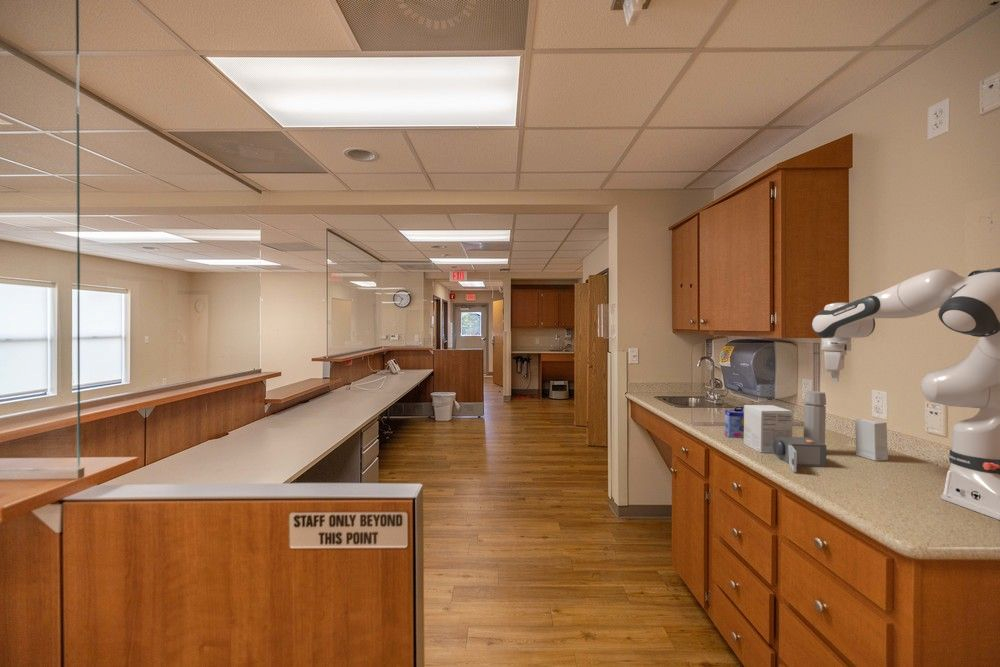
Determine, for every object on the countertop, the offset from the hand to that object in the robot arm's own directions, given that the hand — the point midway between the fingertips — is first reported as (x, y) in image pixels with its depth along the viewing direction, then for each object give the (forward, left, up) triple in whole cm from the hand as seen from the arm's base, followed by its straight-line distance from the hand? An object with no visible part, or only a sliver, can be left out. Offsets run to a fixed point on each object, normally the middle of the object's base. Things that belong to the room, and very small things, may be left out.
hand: (835, 382), depth 160 cm
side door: (-8, +19, -31) cm, 37 cm away
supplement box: (+18, +15, -31) cm, 39 cm away
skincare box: (+10, -20, -31) cm, 38 cm away
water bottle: (+16, -2, -31) cm, 35 cm away
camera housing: (+1, +11, -31) cm, 33 cm away
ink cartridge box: (+37, +19, -31) cm, 52 cm away
